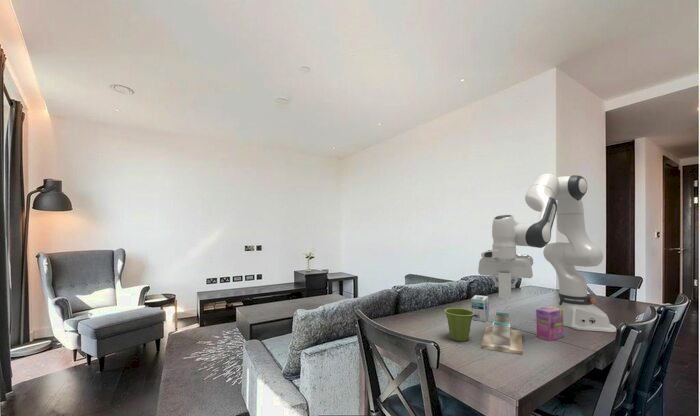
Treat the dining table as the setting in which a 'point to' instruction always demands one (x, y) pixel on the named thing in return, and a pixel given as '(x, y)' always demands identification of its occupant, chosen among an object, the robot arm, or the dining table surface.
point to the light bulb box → (480, 308)
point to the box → (550, 323)
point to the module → (504, 284)
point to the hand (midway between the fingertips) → (504, 287)
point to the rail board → (513, 342)
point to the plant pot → (459, 323)
